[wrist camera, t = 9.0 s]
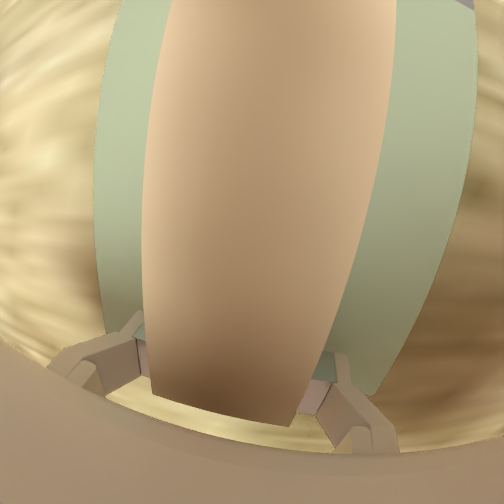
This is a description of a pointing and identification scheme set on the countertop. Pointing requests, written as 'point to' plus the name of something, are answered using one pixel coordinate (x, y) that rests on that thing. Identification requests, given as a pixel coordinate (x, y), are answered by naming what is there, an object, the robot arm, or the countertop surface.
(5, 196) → the countertop surface
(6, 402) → the robot arm
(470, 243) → the countertop surface
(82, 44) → the countertop surface
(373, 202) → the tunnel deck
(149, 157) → the birch bar
